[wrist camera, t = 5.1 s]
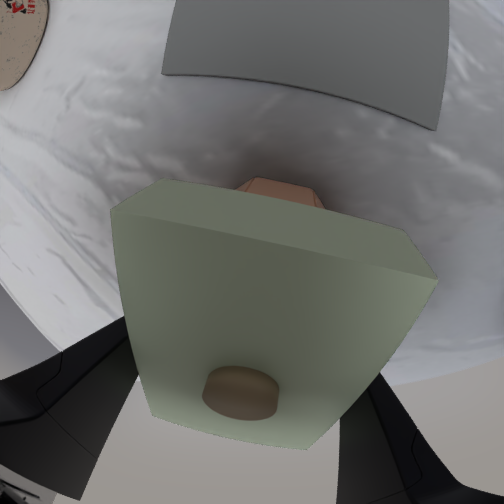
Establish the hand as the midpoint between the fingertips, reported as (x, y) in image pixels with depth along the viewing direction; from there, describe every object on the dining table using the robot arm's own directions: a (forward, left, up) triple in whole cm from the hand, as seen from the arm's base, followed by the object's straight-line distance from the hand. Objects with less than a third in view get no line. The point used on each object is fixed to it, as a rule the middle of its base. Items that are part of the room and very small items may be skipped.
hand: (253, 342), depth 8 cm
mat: (0, -14, -7) cm, 16 cm away
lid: (0, 0, -1) cm, 1 cm away
